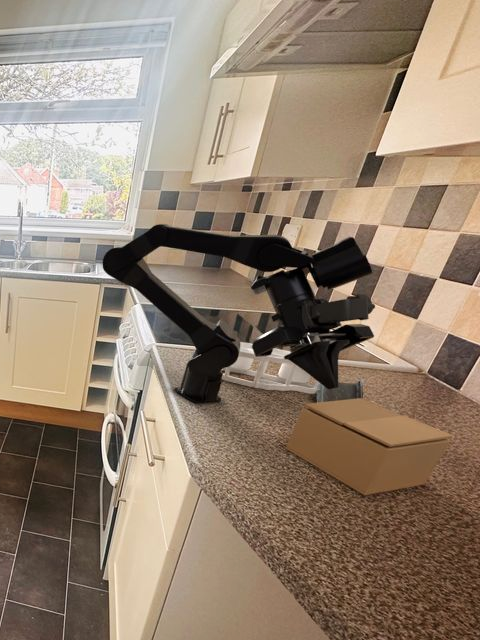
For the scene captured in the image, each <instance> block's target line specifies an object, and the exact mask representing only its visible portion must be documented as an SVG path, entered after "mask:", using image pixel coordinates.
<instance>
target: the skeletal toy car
mask: <svg viewBox="0 0 480 640" xmlns="http://www.w3.org/2000/svg"><path fill="white" fill-rule="evenodd" d="M252 345H253V343H250V342H242V341H240V352H239V357H238V359H237V361H236V362H235V363H234V364H233V365H231V366H229V367H226V368H223V369H222V370H221V372H222V371H224V373H223V375H222V378H221V380H222V381H225V382H230V383H233V384H237V385H238V384H239V385H241V386H246V387H251V388H254V389H261V390H267V391H284V392H286V391H295V392H299V393H304V394H310V395H311V394H312V395H316V394H317V390H318V384H320V383H319V382H318V381H317V380H316V379H314V382H313V384H310V383H309V382H310V379H311V377H312V376H311V375H309V374H308V373H307V372H305V371H304V370H303V369H301V368H300V367H298V366H297V365H295V364H294V363H293V362H291V361H290V360H288V359H284V356H286V355H288V354H290V350H285V349H281V348H280V349H279V348H274V349H273V351H272V353H271V355H269V356H261V357H256V356H255V354H254V351H253V349H252ZM254 361H260V362H259V365H258V367H257V370H252V365H253V363H254ZM269 363H273V364H281V365H280V368H279V370H278V373H277V375H278V376H276V375H273V374H268V373H265V372H266V370H267V368H268V364H269ZM230 373H237V374H242V375H246V376H247V375H248V376H251V377H254V379H253V380H247V379H243V378H239V377H236V376H231V375H230Z"/></svg>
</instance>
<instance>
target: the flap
mask: <svg viewBox="0 0 480 640" xmlns="http://www.w3.org/2000/svg"><path fill="white" fill-rule="evenodd" d="M303 406H304V408H309V409H311V410H313V411H315V412H317V413H319V414H321V415H323V416H325V417H327V418H329V419H331V420H332V421H334V422H336V423H338V424H340V425H344V424H345V423H348V422H356V421H364V420H372V419H381V418H389V417H397V416H402V415H401V414H399V413H396V412H394V411H392V410H389V409H387V408H386V407H382V406H380V405H378V404H375V403H373V402H371V401H369V400H366V399H365V398H363V399H362V398H358V399H348V400H338V401H329V402H319V403H317V402H311V403H304V405H303Z"/></svg>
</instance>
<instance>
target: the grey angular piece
mask: <svg viewBox="0 0 480 640" xmlns="http://www.w3.org/2000/svg"><path fill="white" fill-rule="evenodd" d="M364 380H365V379H364V377H363V378H361V380H358V381H356V382H338V387H337V388H335V389H327V388H326V387H325V386H323V385H322V384H321V383H319V384H318V387H317V390H316V393H315V397H316V403H319V402H329V401H338V400H348V399H358V398H362V399H364Z"/></svg>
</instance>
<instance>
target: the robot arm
mask: <svg viewBox="0 0 480 640" xmlns="http://www.w3.org/2000/svg"><path fill="white" fill-rule="evenodd" d="M160 247H164V248H170V249H175V250H181V251H187V252H193V253H199V254H204V255H210V256H215V257H220V258H221V257H222V258H226V259H228V260H231V261H234V262H236V263H238V264H241V265H244V266H246V267H248V268H251V269H254V270H256V271H260V272H263V273H272V274H270V275H267V276H262V275H257V276H256V278H255V281H254V282H253V283H252V284H251V286H250V289H251V291H252V292H253V294H255V295H260V294H262V293H264V292H266V293H267V295H268V297H269V300H270V303H271V305H272V306H273V310H274V311H275V314H272V315H271V316H270V318H271V320H272V322H273V323H279V324H280V325H281V326H277V327H274V328H273V329H272V330H270V331H267V332H265V333H263V334H261V335H260V336H258V337H256V338H254V339H253V343H252V344H253V345H252V349H253V351H254V354H255V356H256V357H261V356H269V355H271V353H272V351H273V349H274V348H275V349H277V348H283V347H284V348H285V347H286V348H287V347H289V350H288V351H290V354H288V355H286V356H284V359H288V360H290V361H291V362H293V363H294V364H295V365H297V366H298V367H300V368H301V369H303V370H304V371H305V372H307V373H308V374H309V375H311V377H312V378H313V379H314V380H317V381H318V382H319V384H322V385H323V386H325V387H326V388H327V389H335V388H337V387H338V383H339V357H340V353H341V352H342V351H344V350H346V349H350V348H352V347H354V346H356V345H359V344H361V343H364V342H366V341H369V340H371V339H373V338H374V337H375V335H374V332H373V331H372V328H371V326H369V325H367V324H363V323H353V324H352V323H351V324H350V323H349V324H344V325H342V322H343V323H344V322H351V321H356V320H359V321H366V320H369V318H370V317H369V315H370V314H371V313H372V312H374V311H373V310H374V309H375V308H376V305H375V303H373V302H372V298H370V297H369V296H368V295H367V294H361V293H359V294H356V295H349V296H347V297H346V298H343V299H338V300H333V301H328V300H327V299H325V298H317V296H316V294H315V292H314V290H313V288H312V286H311V284H310V282H309V280H308V277H307V276H306V275H308V274H310V276H311V278H312V280H313V282H314V284H315V286H316V288H317V289H319V288H323V289H325V288H326V289H327V291H329V292H330V291H331V290H335V289H337V288H340V287H342V286H345V285H347V284H350V283H352V282H355V281H358V280H360V279H363V278H366V277H368V276H371V275H373V274H374V273H373V269H372V266H371V265H370V262H369V259H368V257H367V256H366V254H364V253H363V252H362V250H361V248H360V246H359V244H357V241H356V239H355V238H354V237H353V236H348V237H345V238H343V239H341V240H339V241H338V242H336V243H335V244H332V245H330V246H328V247H326V248H323V249H321V250H319V251H316V252H314V253H309V252H308V251H307V250H300V249H298V248H295V247H293V246H292V244H291V243H290V241H289V239H288V238H287V237H285V236H282V235H279V234H249V235H247V234H245V235H232V234H225V233H219V232H212V231H205V230H199V229H194V228H193V229H192V228H187V227H186V228H185V227H179V226H172V225H169V224H168V223H157V224H155V225H153V226H152V227H150V228H149V229H148V230H147V231H146V232H144V233H142V234H141V235H139V236H138V237H135V238H134V239H132V240H131V241H130V242H128V243H126V244H124V245H118V246H115V247H113V248H110V249H108V251H106V252H105V253H104V256H103V258H102V270H103V271H104V273H105V274H106V275H108V276H110V277H111V278H113V279H114V280H116V281H117V282H119V283H121V284H124V285H126V286H129V287H131V288H133V289H134V290H136V291H137V292H139V293H140V294H141V296H143V297H144V298H145V299H146V300H147V301H148V302H150V303H151V304H152V305H153V307H155V308H157V309H158V310H159V311H160V312H161V313H162V314H163V315H164V316H166V318H167V319H169V320H170V321H171V322H172V323H173V324H175V326H177V327H178V328H179V329H180V330H181V331H182V332H183V333H185V335H187V336H188V338H189V339H190V341H191V343H192V344H193V347H194V348H195V349H194V350H193V351H192V354H191V356H190V357H189V360H188V361H187V362H186V367H185V369H184V373H183V377H182V380H181V384H180V386H177V387H173V391H174V392H176V393H178V394H179V395H181V396H182V397H184V398H186V399H187V400H189V401H191V402H192V403H194V404H201V403H211V402H220V401H222V398H221V397H220V396H219V392H220V389H221V386H222V382H223V380H222V379H221V378H222V375H223V374H224V373H223V372H222V371H221V370H222V369H223V368H226V367H229V366H231V365H233V364H234V363H235V362H236V361H237V359H238V357H239V352H240V342H241V340H240V338H239V337H238V333H239V332H238V331H237V330H234V329H232V328H230V326H229V325H228V324H227V323H226V321H225V320H224V319H222V318H220V319H219V320H218V322H217V323H215V322H212V321H210V320H208V319H206V318H205V317H203V316H202V315H201V314H200V313H199V312H197V310H195V309H194V308H193V307H192V306H191V305H190V304H189V303H187V302H186V301H185V300H184V299H183V298H182V297H180V296H179V295H178V294H177V293H176V292H174V291H173V290H172V289H171V288H170V287H169V286H168V285H166V283H165V282H163V281H162V280H161V279H160V278H159V277H158V276H156V275H155V274H154V273H153V271H152V270H151V269H150V266H149V265H148V264H147V262H146V260H145V259H144V258H145V257H147V256H148V255H150V254H151V253H153V252H154V251H156V250H157V249H159V248H160ZM283 268H292V269H290V270H285V269H283ZM280 269H281V270H280ZM276 271H277V272H276ZM273 272H275V273H273Z"/></svg>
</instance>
